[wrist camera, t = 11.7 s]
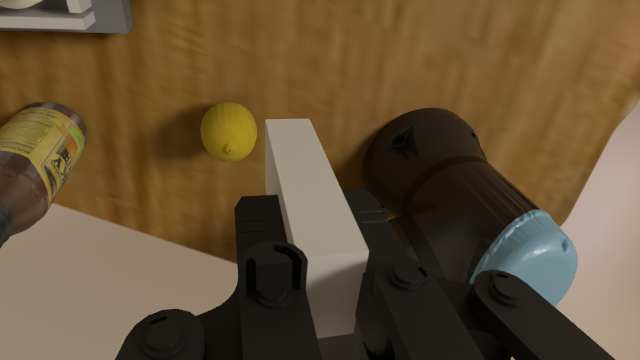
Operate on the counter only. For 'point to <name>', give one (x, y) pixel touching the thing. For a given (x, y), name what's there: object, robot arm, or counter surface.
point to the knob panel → (70, 16)
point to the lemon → (228, 131)
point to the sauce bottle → (36, 162)
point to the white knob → (18, 3)
